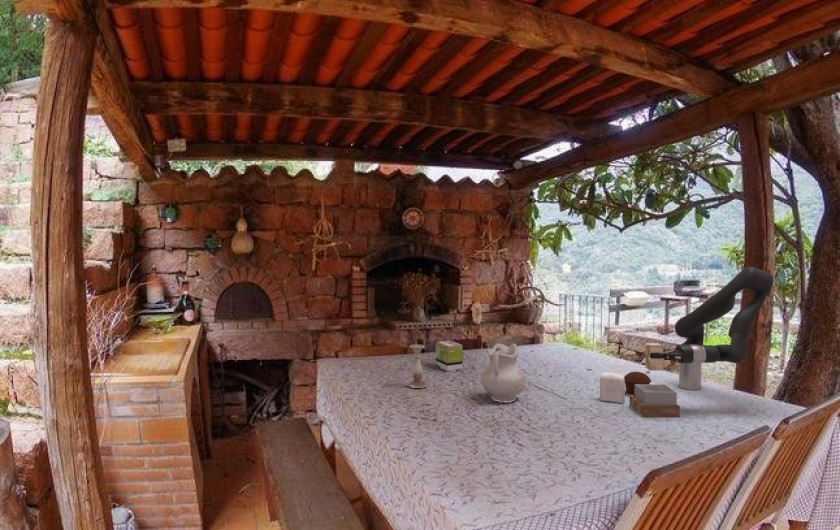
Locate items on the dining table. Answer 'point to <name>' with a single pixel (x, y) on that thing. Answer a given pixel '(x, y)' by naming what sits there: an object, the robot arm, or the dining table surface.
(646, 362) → the birch pillar block
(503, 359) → the ceramic pitcher
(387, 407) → the dining table surface
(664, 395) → the slate top block
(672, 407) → the walnut base block
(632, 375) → the muffin
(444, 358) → the tea box
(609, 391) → the photo printer
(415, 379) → the candle holder
